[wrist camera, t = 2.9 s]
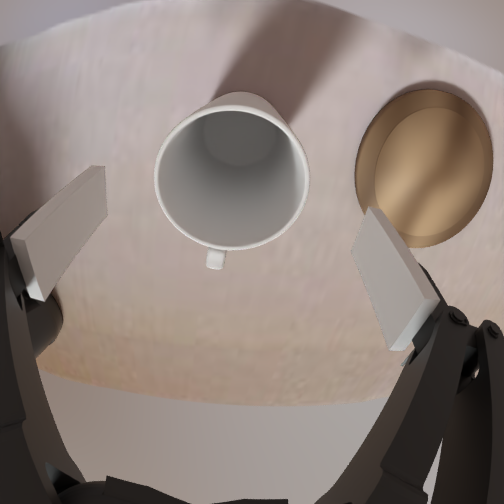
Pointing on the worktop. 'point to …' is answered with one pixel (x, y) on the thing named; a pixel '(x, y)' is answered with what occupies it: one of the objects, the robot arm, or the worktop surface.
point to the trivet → (425, 166)
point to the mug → (232, 175)
